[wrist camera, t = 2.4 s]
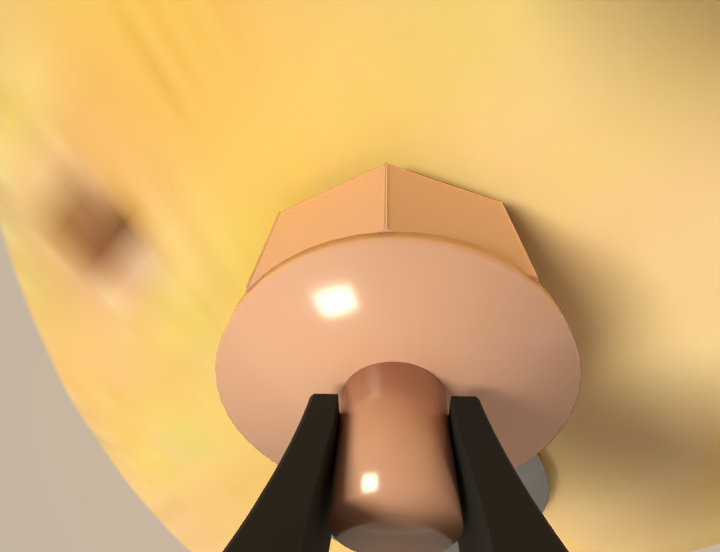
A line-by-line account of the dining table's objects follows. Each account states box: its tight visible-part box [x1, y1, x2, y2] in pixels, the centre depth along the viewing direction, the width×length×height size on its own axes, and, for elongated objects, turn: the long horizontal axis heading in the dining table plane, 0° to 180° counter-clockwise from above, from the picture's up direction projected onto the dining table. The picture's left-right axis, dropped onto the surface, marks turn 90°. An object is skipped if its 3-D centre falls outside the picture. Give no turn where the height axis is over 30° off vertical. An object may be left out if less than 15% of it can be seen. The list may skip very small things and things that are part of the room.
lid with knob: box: [215, 163, 581, 552], centre depth 13 cm, size 10×10×8 cm
